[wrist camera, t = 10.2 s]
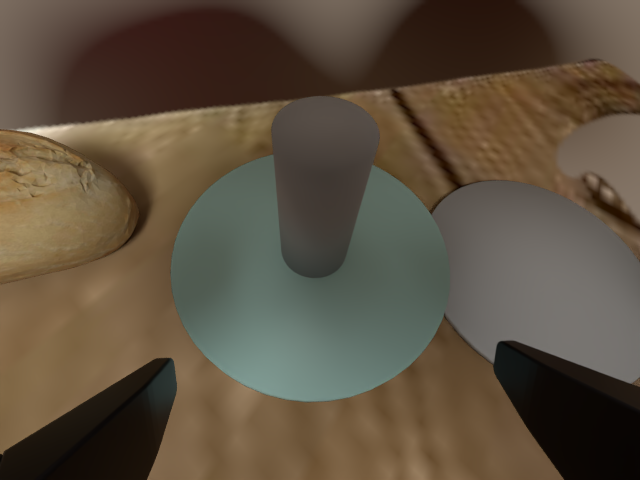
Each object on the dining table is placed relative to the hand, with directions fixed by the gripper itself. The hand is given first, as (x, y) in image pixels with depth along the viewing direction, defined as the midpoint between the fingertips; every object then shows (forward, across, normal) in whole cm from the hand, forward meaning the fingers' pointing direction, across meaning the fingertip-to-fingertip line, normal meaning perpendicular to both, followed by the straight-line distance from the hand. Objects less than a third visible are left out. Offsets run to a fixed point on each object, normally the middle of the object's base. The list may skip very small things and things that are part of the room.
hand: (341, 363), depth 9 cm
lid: (+10, 0, 0) cm, 10 cm away
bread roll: (+16, +20, +1) cm, 25 cm away
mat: (+14, -17, +3) cm, 22 cm away
